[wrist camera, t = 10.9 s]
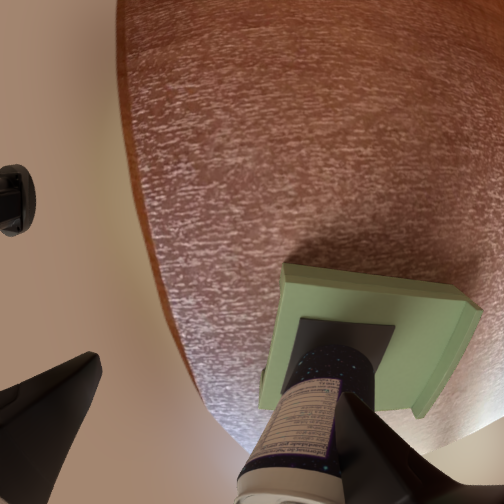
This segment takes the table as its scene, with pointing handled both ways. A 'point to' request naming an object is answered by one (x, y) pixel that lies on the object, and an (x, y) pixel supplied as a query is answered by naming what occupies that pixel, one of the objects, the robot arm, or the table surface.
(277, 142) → the table surface
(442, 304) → the shelf
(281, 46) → the table surface
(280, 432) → the beverage can
